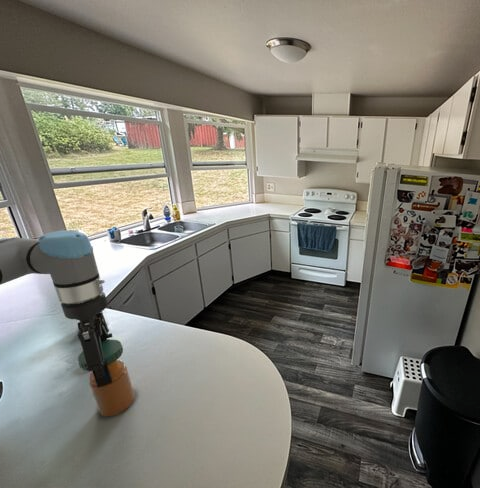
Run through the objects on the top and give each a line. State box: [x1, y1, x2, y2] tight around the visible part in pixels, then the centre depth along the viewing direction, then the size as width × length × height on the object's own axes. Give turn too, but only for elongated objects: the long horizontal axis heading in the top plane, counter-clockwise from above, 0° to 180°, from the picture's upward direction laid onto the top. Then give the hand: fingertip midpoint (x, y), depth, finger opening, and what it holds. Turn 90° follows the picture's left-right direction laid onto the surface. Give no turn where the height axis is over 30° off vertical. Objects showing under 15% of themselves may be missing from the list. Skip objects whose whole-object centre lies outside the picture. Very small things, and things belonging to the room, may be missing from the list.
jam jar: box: [88, 359, 136, 417], centre depth 67 cm, size 8×8×12 cm
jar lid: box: [77, 339, 124, 372], centre depth 64 cm, size 8×8×2 cm
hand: (107, 371), depth 65 cm, fingers closed on jar lid, 8 cm apart
